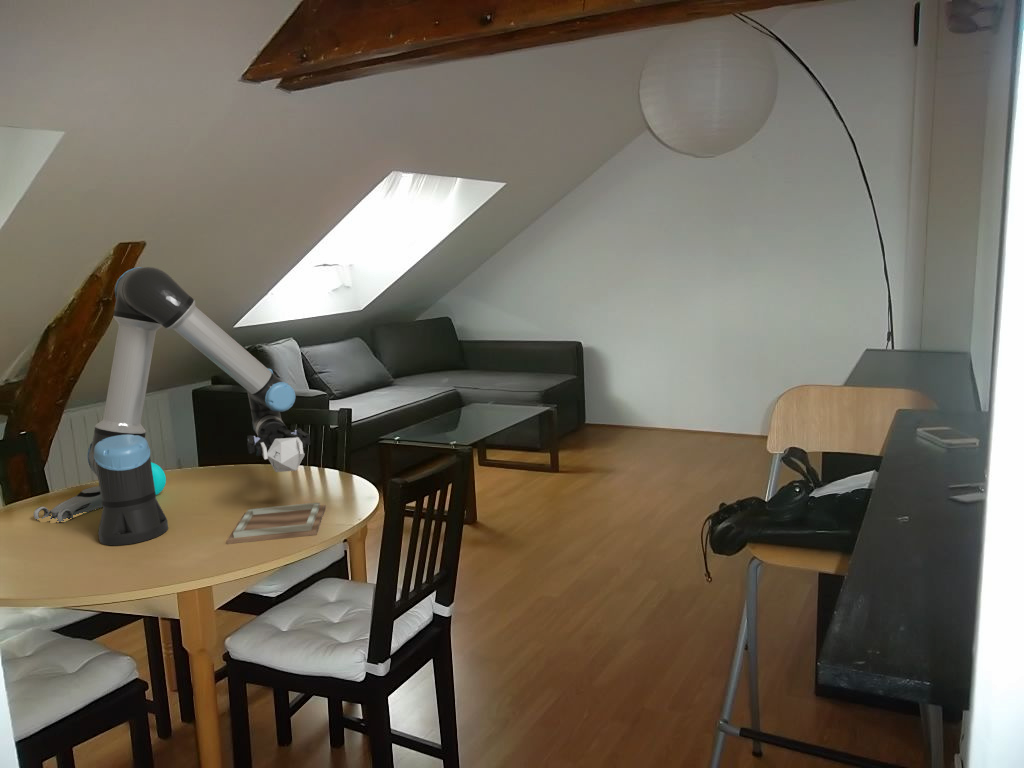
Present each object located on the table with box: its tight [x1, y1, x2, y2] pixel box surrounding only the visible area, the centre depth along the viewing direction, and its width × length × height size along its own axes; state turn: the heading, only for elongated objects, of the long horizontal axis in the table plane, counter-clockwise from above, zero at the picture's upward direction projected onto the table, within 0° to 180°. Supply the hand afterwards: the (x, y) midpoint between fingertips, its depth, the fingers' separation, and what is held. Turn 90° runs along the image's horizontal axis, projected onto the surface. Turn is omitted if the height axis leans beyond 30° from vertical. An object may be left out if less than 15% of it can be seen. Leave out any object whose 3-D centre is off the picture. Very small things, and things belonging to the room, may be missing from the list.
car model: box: [33, 485, 103, 522], centre depth 217 cm, size 11×24×5 cm, turn 158°
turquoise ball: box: [151, 461, 167, 496], centre depth 220 cm, size 10×10×10 cm
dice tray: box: [226, 501, 327, 545], centre depth 193 cm, size 20×20×2 cm
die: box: [267, 438, 306, 473], centre depth 197 cm, size 8×9×10 cm
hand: (283, 450), depth 192 cm, fingers closed on die, 8 cm apart
